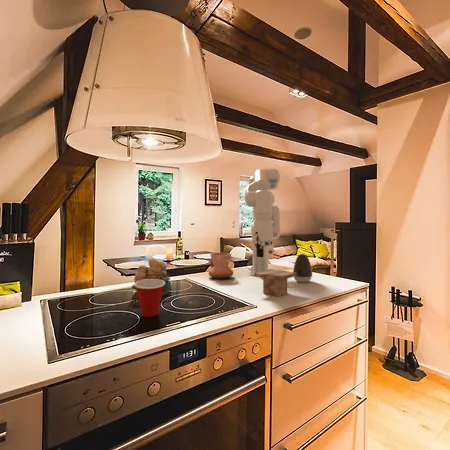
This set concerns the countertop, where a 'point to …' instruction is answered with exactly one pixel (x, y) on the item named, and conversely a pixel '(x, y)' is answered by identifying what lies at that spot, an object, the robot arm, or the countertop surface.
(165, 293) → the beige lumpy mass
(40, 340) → the countertop surface
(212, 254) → the ceramic jug
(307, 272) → the dark egg shaped dome
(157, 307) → the plastic cup
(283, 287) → the walnut stand
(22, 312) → the countertop surface
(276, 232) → the robot arm
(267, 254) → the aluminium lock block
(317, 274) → the countertop surface
